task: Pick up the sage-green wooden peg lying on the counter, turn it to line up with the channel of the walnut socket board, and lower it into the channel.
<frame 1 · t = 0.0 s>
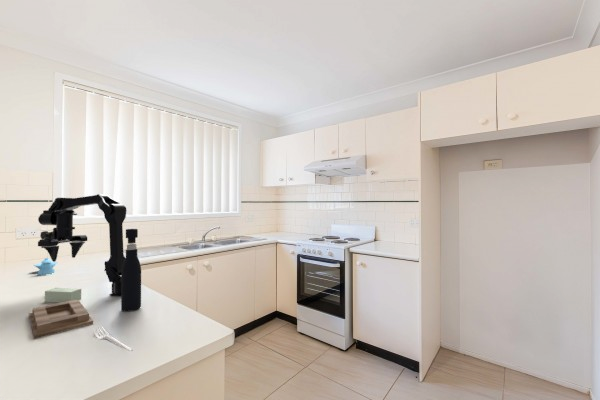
hand: (64, 259, 125), 15 cm above the counter, tool pointing down, fingers open, 9 cm apart
fork: (113, 343, 79), on the counter
peg: (63, 300, 114), on the counter
socket board: (60, 319, 94), on the counter
blue spiky figurine: (46, 272, 163), on the counter
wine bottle: (131, 308, 104), on the counter
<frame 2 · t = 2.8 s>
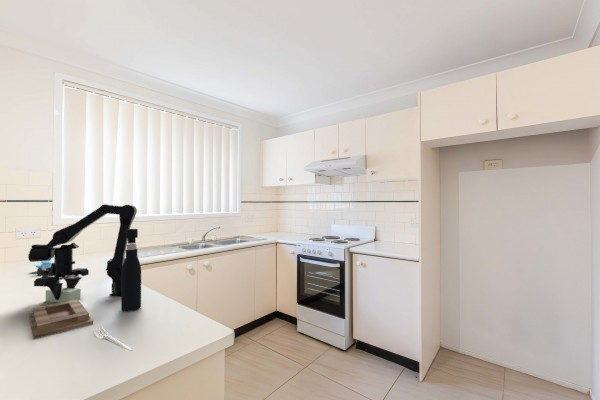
hand: (63, 297, 114), 1 cm above the counter, tool pointing down, fingers closed on peg, 5 cm apart
peg: (63, 300, 114), on the counter, touching gripper
everything else where it was.
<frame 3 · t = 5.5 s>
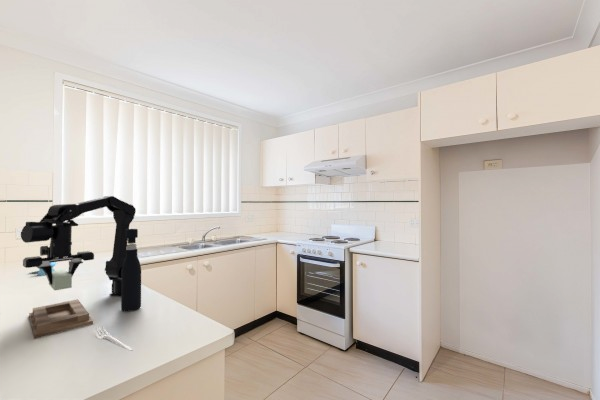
hand: (60, 282, 99), 11 cm above the counter, tool pointing down, fingers closed on peg, 5 cm apart
peg: (59, 285, 99), point 10 cm above the counter, touching gripper
everything else where it was.
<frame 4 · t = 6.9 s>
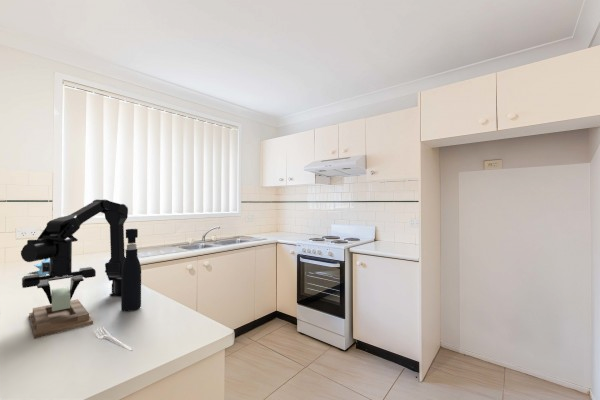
hand: (60, 301, 95), 6 cm above the counter, tool pointing down, fingers closed on peg, 5 cm apart
peg: (60, 304, 95), point 5 cm above the counter, touching gripper
everything else where it was.
when the fingers open (4 cm above the counter, at t = 8.0 s): peg drops 2 cm, resting on socket board.
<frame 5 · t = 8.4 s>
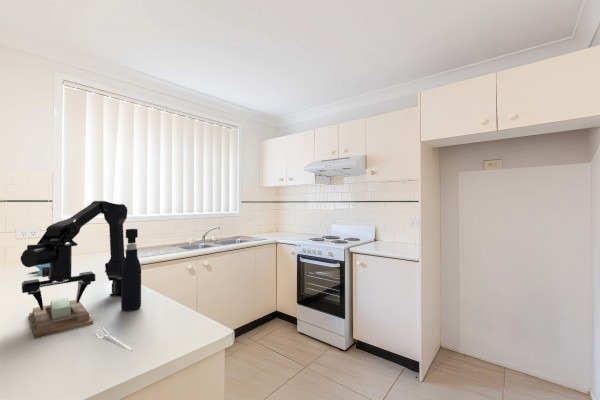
hand: (60, 306, 94), 4 cm above the counter, tool pointing down, fingers open, 9 cm apart
peg: (60, 316, 94), point 1 cm above the counter, touching socket board
everything else where it was.
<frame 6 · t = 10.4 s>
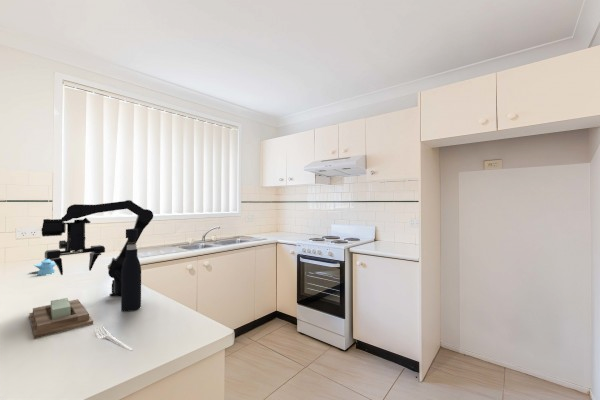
hand: (76, 272, 113), 12 cm above the counter, tool pointing down, fingers open, 9 cm apart
nothing on the counter moved.
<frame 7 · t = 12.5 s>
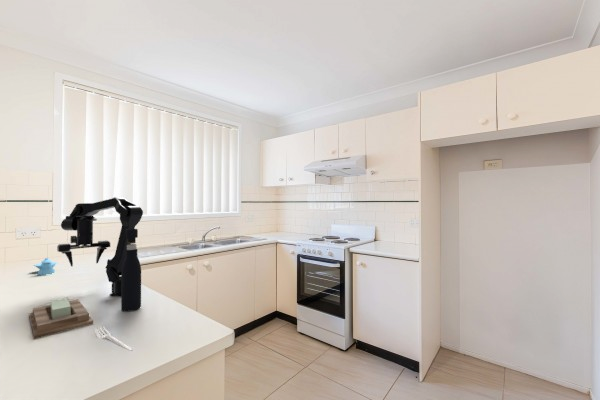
hand: (84, 264, 127), 12 cm above the counter, tool pointing down, fingers open, 9 cm apart
nothing on the counter moved.
at the end: peg 0.1 cm off-centre on the socket board, point 1.0 cm above the socket board's base; peg tilted 0°; the gripper is holding nothing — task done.
